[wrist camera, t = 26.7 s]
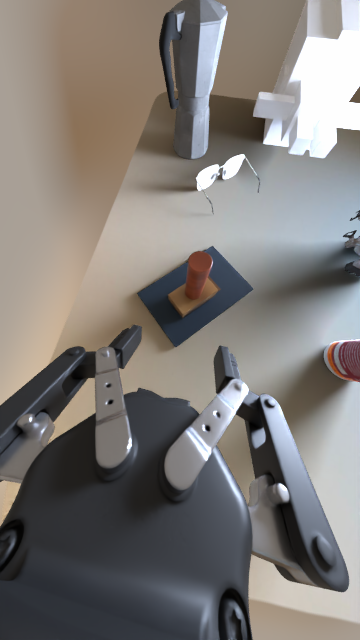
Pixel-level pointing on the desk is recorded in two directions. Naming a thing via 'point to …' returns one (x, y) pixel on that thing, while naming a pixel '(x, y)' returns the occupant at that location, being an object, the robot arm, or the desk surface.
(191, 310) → the stamp
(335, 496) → the desk surface
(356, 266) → the figurine
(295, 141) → the white voxel figure
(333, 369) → the pill bottle
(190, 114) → the coffeepot
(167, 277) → the mat
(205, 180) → the eyeglasses
